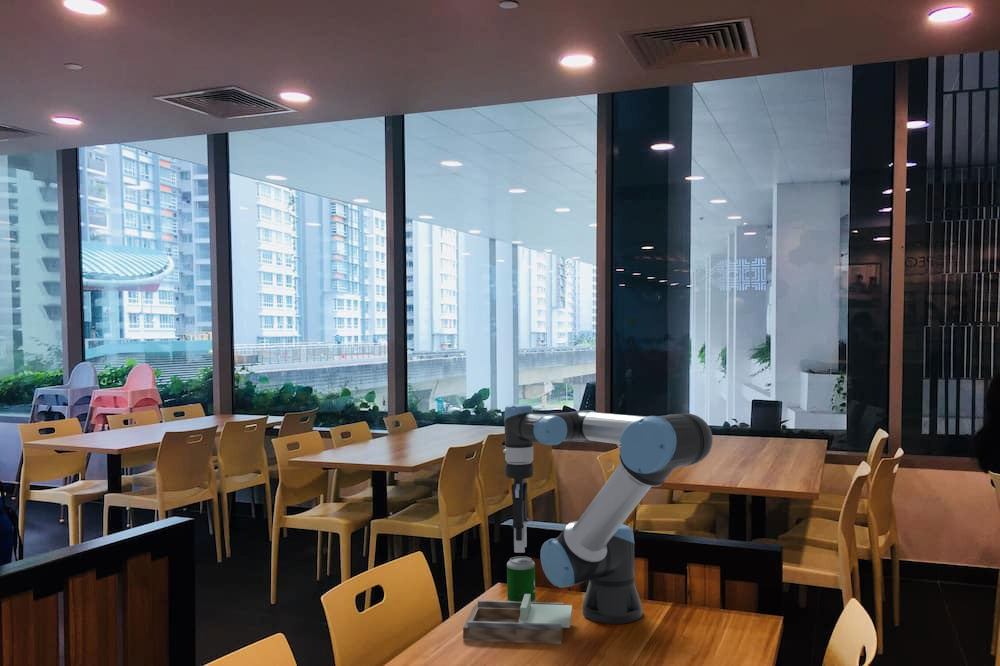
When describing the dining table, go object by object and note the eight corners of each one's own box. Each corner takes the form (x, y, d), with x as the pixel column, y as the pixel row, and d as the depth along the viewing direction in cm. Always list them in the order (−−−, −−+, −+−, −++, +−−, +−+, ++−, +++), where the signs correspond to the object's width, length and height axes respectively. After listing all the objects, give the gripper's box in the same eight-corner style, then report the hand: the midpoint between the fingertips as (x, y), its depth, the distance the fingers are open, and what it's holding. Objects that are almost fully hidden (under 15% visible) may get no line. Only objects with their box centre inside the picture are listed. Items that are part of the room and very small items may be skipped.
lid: (572, 608, 193) (571, 593, 193) (569, 627, 180) (569, 611, 180) (525, 606, 194) (525, 591, 194) (519, 625, 182) (519, 609, 182)
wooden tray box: (564, 619, 195) (564, 602, 195) (560, 644, 179) (560, 625, 179) (474, 616, 198) (474, 599, 198) (463, 640, 182) (463, 622, 182)
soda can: (533, 610, 202) (532, 564, 202) (505, 608, 203) (504, 562, 203) (537, 600, 209) (536, 556, 209) (510, 599, 211) (509, 555, 211)
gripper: (509, 457, 216) (510, 540, 215) (500, 467, 198) (502, 558, 198) (536, 457, 215) (537, 541, 214) (530, 467, 197) (531, 559, 197)
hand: (520, 549), depth 206 cm, fingers open, 5 cm apart
